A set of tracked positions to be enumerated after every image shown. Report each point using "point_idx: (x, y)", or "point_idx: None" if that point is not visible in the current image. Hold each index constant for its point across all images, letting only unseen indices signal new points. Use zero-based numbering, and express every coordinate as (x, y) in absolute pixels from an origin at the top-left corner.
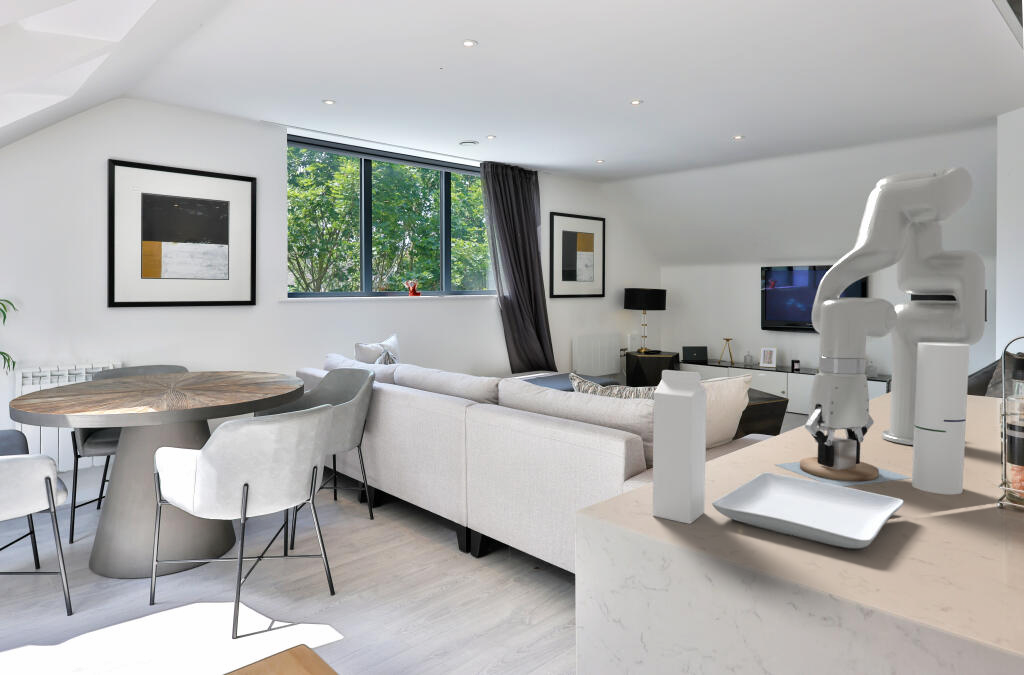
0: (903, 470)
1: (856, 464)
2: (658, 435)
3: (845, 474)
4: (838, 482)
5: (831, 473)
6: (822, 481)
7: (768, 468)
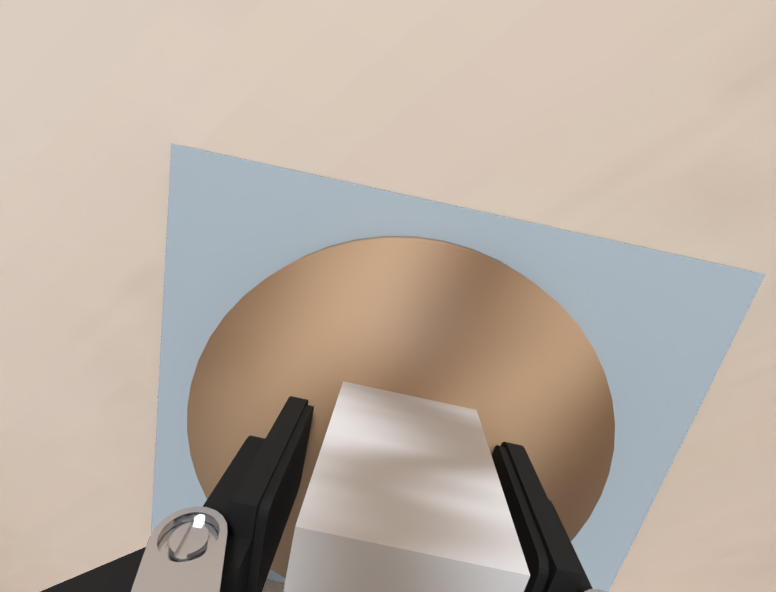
0: (745, 550)
1: None
2: None
3: None
4: None
5: None
6: (162, 485)
7: (128, 144)
